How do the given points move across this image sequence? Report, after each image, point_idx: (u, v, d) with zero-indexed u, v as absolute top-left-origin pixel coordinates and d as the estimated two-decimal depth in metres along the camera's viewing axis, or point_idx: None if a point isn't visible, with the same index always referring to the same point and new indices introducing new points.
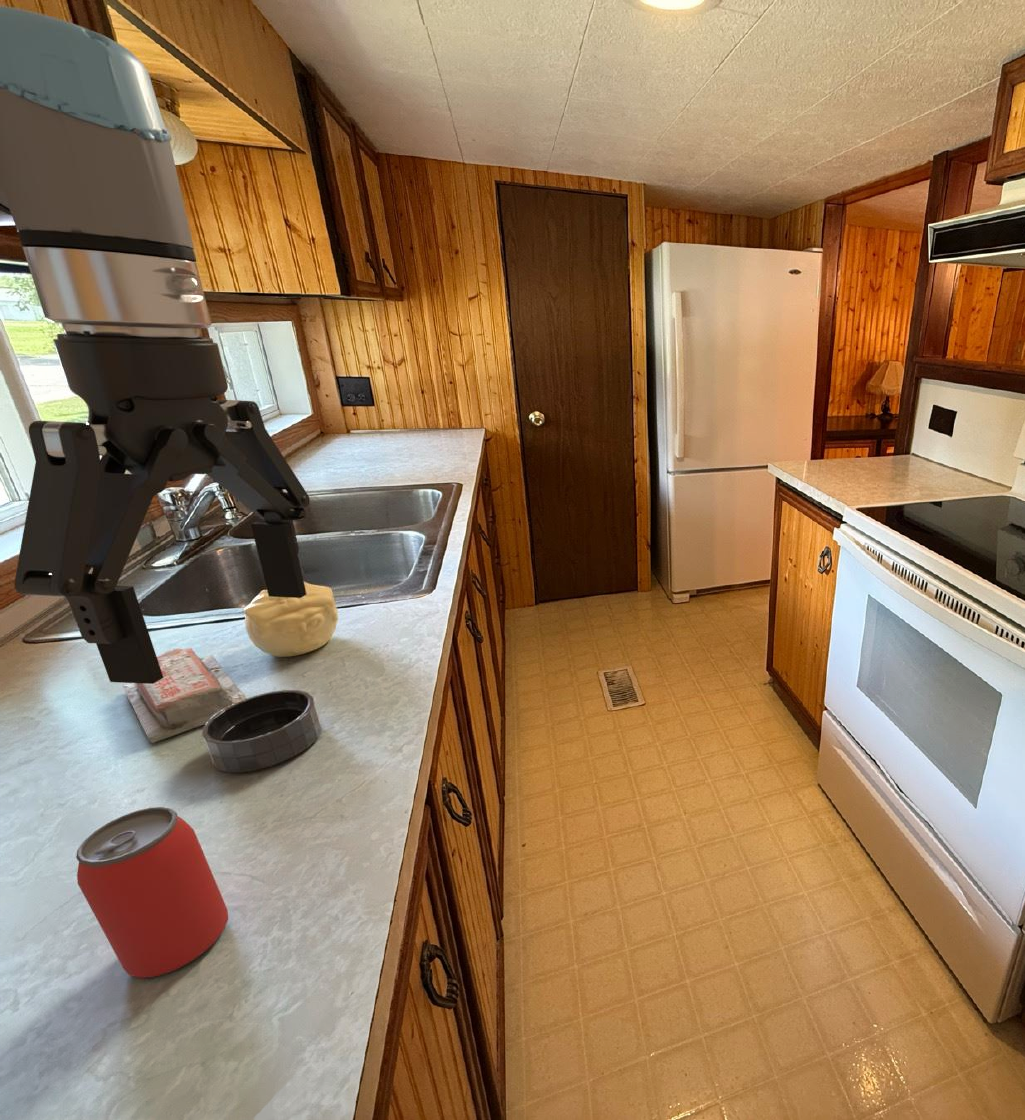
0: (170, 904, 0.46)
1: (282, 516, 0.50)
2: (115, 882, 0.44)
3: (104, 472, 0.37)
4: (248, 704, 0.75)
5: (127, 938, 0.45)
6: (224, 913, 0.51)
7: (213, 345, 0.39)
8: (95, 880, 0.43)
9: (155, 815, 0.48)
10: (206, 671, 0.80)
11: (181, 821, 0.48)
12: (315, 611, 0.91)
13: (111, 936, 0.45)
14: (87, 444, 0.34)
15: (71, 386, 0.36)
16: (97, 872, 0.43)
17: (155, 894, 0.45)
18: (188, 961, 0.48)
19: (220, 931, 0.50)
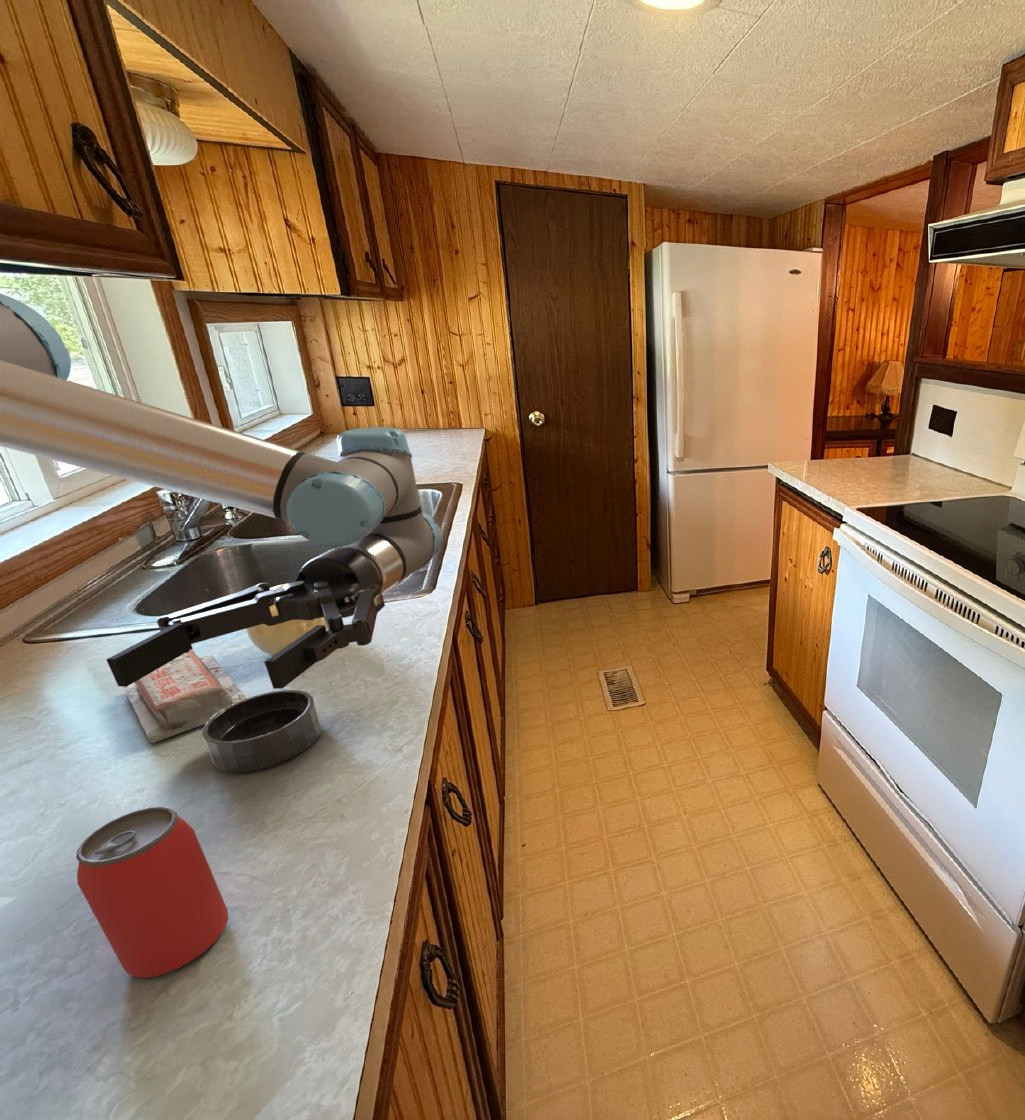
0: (170, 904, 0.46)
1: None
2: (114, 882, 0.44)
3: None
4: (248, 704, 0.75)
5: (127, 938, 0.45)
6: (224, 913, 0.51)
7: None
8: (95, 880, 0.43)
9: (155, 815, 0.48)
10: (206, 671, 0.80)
11: (181, 821, 0.48)
12: None
13: (111, 936, 0.45)
14: None
15: (358, 573, 0.67)
16: (97, 872, 0.43)
17: (155, 894, 0.45)
18: (188, 961, 0.48)
19: (220, 931, 0.50)
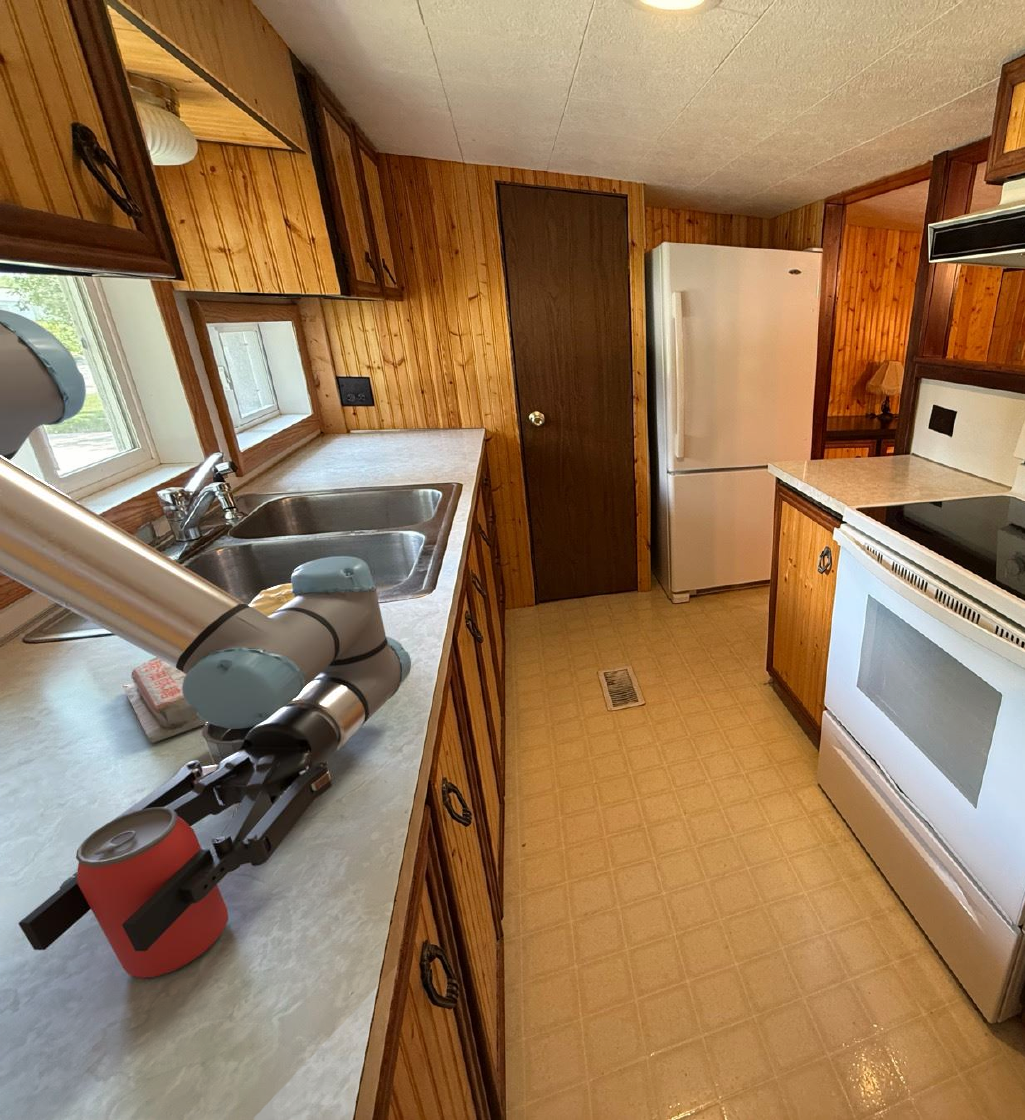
0: None
1: None
2: (114, 882, 0.44)
3: (265, 785, 0.55)
4: None
5: (127, 938, 0.45)
6: (224, 913, 0.51)
7: None
8: (95, 880, 0.43)
9: (155, 815, 0.48)
10: None
11: (181, 821, 0.48)
12: None
13: (110, 936, 0.45)
14: None
15: (312, 738, 0.61)
16: (97, 872, 0.43)
17: None
18: (188, 961, 0.48)
19: (220, 931, 0.50)
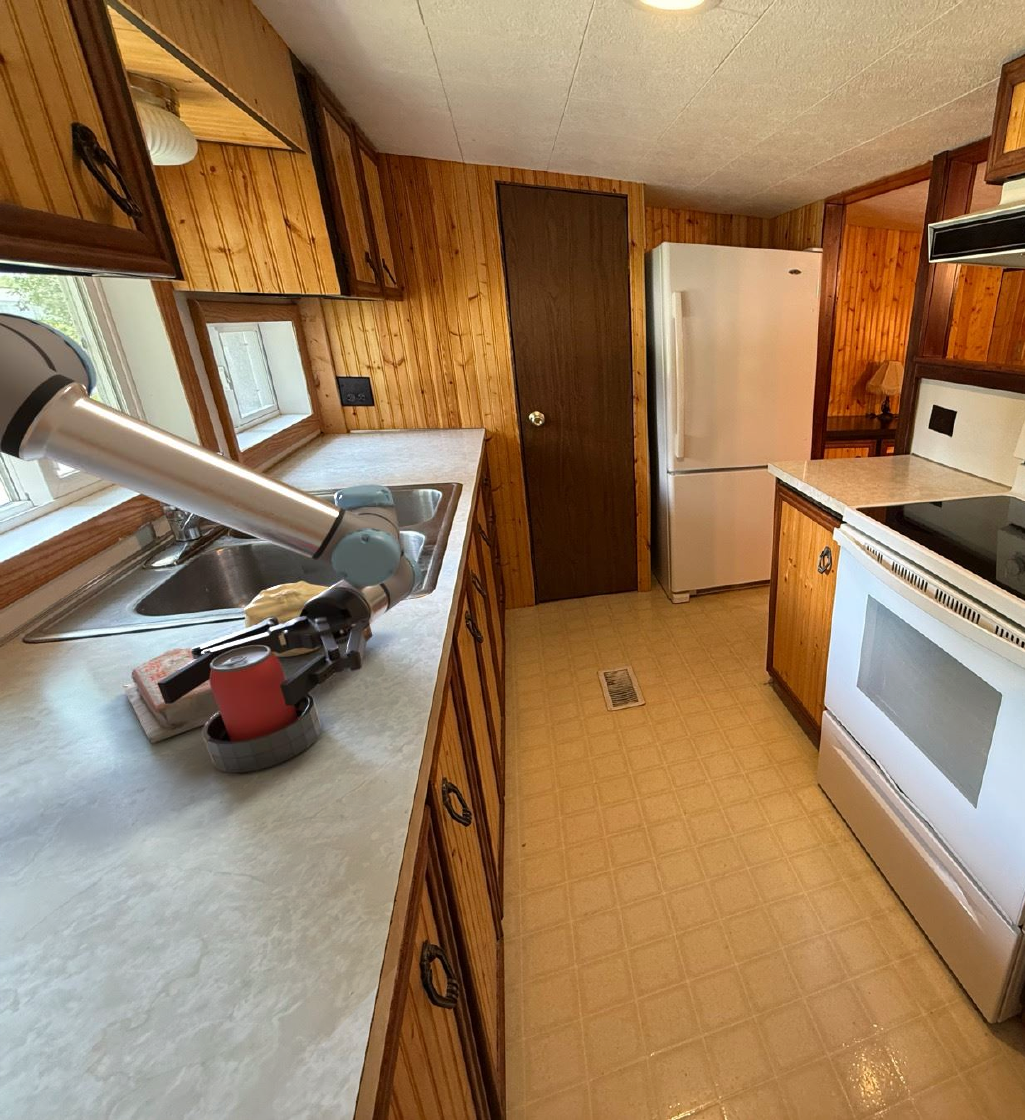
0: (268, 705, 0.69)
1: None
2: (235, 683, 0.67)
3: None
4: None
5: (241, 725, 0.68)
6: None
7: None
8: (223, 681, 0.67)
9: (256, 649, 0.71)
10: None
11: (273, 654, 0.71)
12: None
13: (230, 724, 0.68)
14: None
15: (351, 609, 0.83)
16: (224, 676, 0.67)
17: (259, 695, 0.68)
18: None
19: None
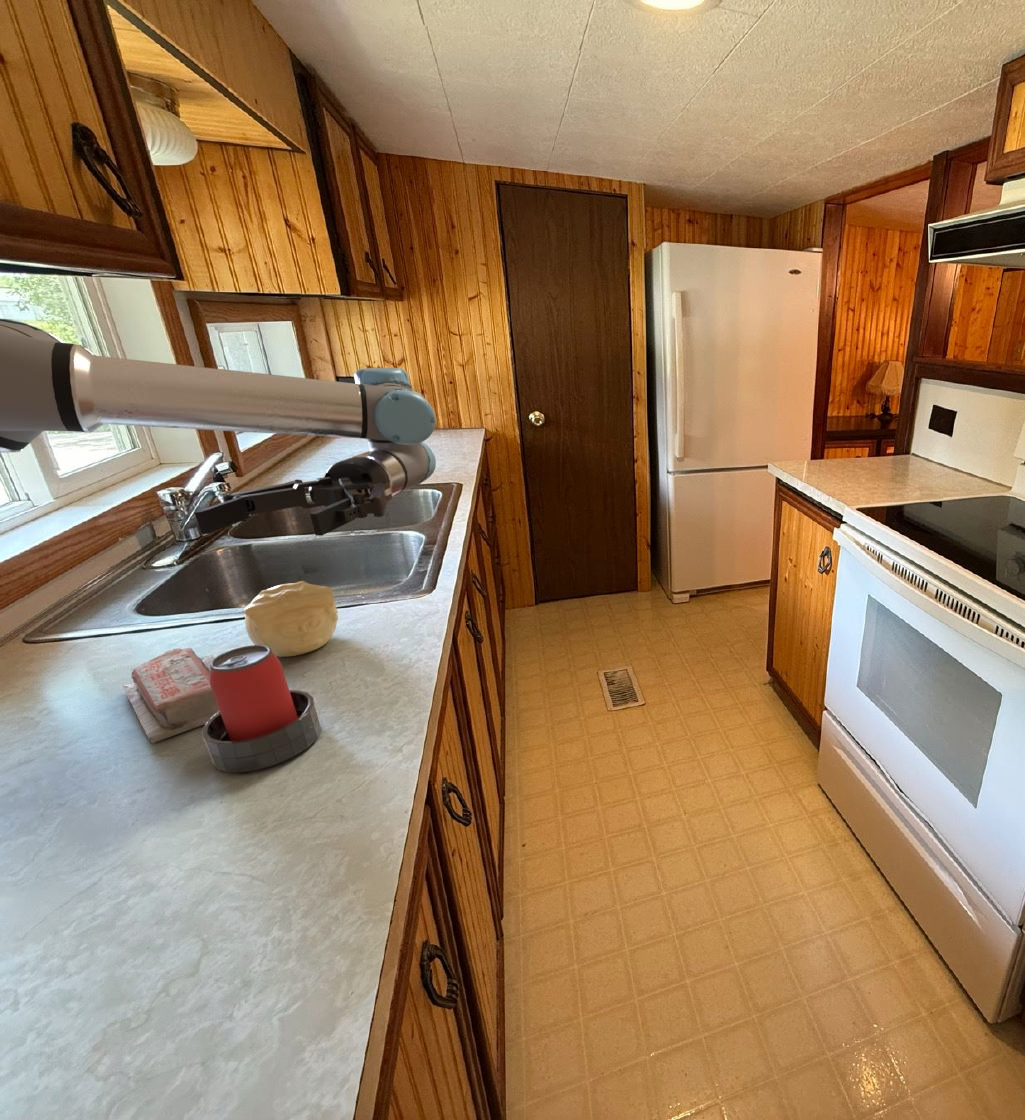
0: (268, 705, 0.69)
1: None
2: (235, 683, 0.67)
3: None
4: None
5: (241, 725, 0.68)
6: None
7: None
8: (223, 681, 0.67)
9: (256, 649, 0.71)
10: (206, 671, 0.80)
11: (273, 654, 0.71)
12: (315, 611, 0.91)
13: (230, 724, 0.68)
14: None
15: (372, 474, 0.87)
16: (224, 676, 0.67)
17: (259, 695, 0.68)
18: None
19: None
